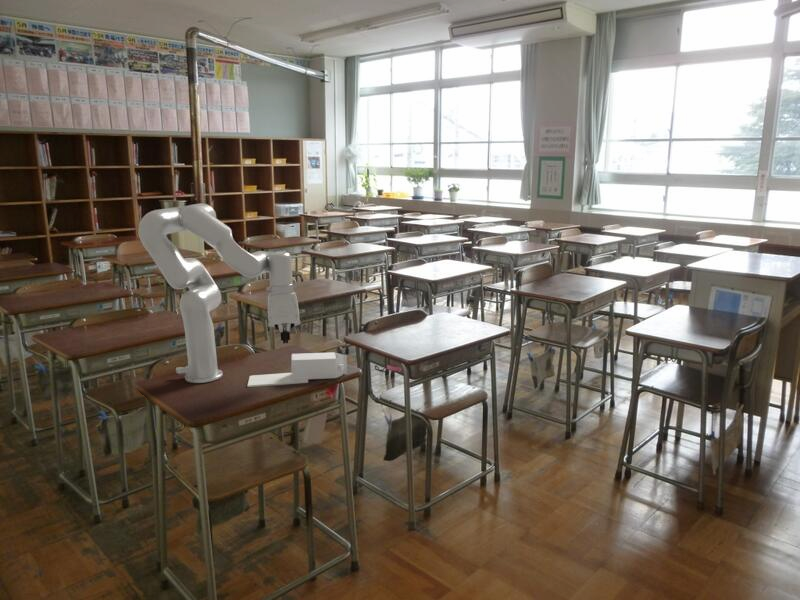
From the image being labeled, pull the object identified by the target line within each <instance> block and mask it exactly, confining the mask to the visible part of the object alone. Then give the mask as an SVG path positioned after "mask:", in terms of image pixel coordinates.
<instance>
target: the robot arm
mask: <svg viewBox="0 0 800 600" xmlns="http://www.w3.org/2000/svg"><path fill="white" fill-rule="evenodd" d="M187 231H189V232H191V233H192V234H194V235H195V236H196V237H198V238H199V239H200V240H202V241H203V242H205V243H206V244H207V245H208V246H210V247H211V248H213V249H214V250H215V251H216V253H217V255H218V256H219V257H220V259H221V260H222V261H223V262H224V263H225V264H226V265H228V266H229V267H230V268H232V269H233V270H234V271H236V272H237V273H239V274H240V275H242V276H244V277H246V278H250V279H251V278H253V279H255V278H257V277H259V276H261V275H263V274H267V273H268V277H269V278H268V279H269V286H265V291H267V292H269V293H268V296H267V320H268V323H267V325H268V326H267V327H269V328H275V329H276V330H277V331H278V332H280V340H281V341H282V342H283V345H285V344H289V341H290V340H291V335H290V333H291V330H292V329H293V328H294V327H297V326H299V325H301V319H300V309H299V302H298V297H297V293H296V292H295V291H294V280H293V266H292V255H291V253H289V252H287V251H276V252H275V251H274V252H271V251H264V250H259V251H255V252H252V253H250V252H248V251H247V250H246V249H244V248H242V247H241V246H240V245H239V244H238V243H237V242H236V241H235V239H234V237H233V230H232V228H230V226H228V225H227V224H226V223H223V222H222V221H221V220H219V219H218V218H217V214H216V211H215V209H214V208H213V207H212V206H211V205H209V204H207V203H203V202H202V203H195V204H189V205H183V206H176V207H175V206H174V207H169V208H168V207H167V208H161V209H154V210H151V211H149V212H147V213H146V214H144V216H143V217H142V219H141V220H140V222H139V224H138V238H139V239H140V242H141V244H142V246H143V248H144V249H145V250H146V251H147V253H148V254H149V256H150V257H151V259H152V261H153V262H154V264H155V265H156V267H157V268H158V270H159V272H161V274H162V276H163V277H164V279H165V280H166V282H167V283H168V285H169V286H170V287H171V288H173V289H175V290H182V289H185V288H188V289H189V290H188V291H186V292H185V293H184V294H182V296H181V297H180V299H179V311H180V315H181V317H182V322H183V327H184V328H183V330H184V335H185V336H184V337H185V345H186V355H187V365H186V366H178V367H176V368H175V373H176V374H178V375H185V376H184V379H185V381H186V382H188V383H191V384H204V383H209V382H214V381H216V380H218V379H219V380H220V379H221V378H222V377H223V374H224V373H223V371H222V370H221V369H218V359H217V349H216V338H215V329H214V323H213V320H212V317H211V314H210V312H211V311H213V310H215V309H216V308H218V307H219V305H220V304H221V302H222V293H221V291H220V288H219V287H218V285H217V284H216V282H215V280H214V279H213V277H212V276H211V274H210V273H209V271H208V269H207V268H206V266H205V265H204V264H203V263H202V262H201V261H200V260H198V259H197V258H194V257H185V258H184V257H183V255H182V254H181V252H180V251H179V250H178V248H177V246H176V245H175V244H174V243H173V242H172V241H171V240H170V239H169V238H168V237H167V235H170V234H173V233H174V234H175V233H181V232H187ZM283 325H286V328H284V326H283Z"/></svg>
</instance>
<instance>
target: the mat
mask: <svg viewBox="0 0 800 600" xmlns="http://www.w3.org/2000/svg"><path fill="white" fill-rule="evenodd" d="M308 383H309V379H306V380H292V372H281V373H270V374H269V373H268V374H253V375H249V378H248V382H247V386H246V387H247V388H256V387H257V388H258V387H270V386H285V385H296V384H297V385H298V384H308Z"/></svg>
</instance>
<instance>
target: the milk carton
mask: <svg viewBox="0 0 800 600" xmlns="http://www.w3.org/2000/svg"><path fill="white" fill-rule="evenodd" d="M290 363H291V364H290V365H291V367H290V368H291V369H290V370H291V373H292V380H306V379H308V380H325V379H338V378H339V377H342V376H344V375H347V374H348V355H347V354H342V353H338V352H333V351H332V352H311V353H310V352H309V353H307V352H306V353H304V352H303V353H291V362H290ZM343 374H344V375H343Z"/></svg>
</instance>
